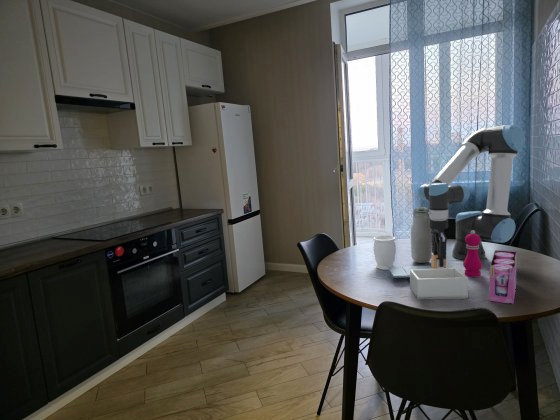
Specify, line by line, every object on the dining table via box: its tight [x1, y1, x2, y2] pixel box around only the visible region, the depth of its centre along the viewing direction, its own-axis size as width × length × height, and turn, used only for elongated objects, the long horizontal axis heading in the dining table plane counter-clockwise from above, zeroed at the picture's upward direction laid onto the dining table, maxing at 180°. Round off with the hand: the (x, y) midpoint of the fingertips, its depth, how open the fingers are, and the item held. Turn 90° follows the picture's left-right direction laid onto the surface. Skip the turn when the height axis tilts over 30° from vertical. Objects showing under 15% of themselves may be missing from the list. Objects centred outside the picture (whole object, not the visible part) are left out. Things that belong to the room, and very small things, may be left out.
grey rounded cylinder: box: [410, 206, 433, 264], centre depth 184 cm, size 10×10×28 cm
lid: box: [388, 254, 447, 279], centre depth 163 cm, size 23×13×7 cm, turn 84°
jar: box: [373, 235, 397, 271], centre depth 181 cm, size 11×10×15 cm
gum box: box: [488, 249, 518, 305], centre depth 141 cm, size 24×8×14 cm, turn 146°
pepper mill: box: [463, 230, 483, 278], centre depth 162 cm, size 7×7×20 cm
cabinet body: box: [409, 267, 469, 301], centre depth 145 cm, size 18×12×8 cm, turn 84°
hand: (438, 271), depth 162 cm, fingers closed on lid, 4 cm apart
